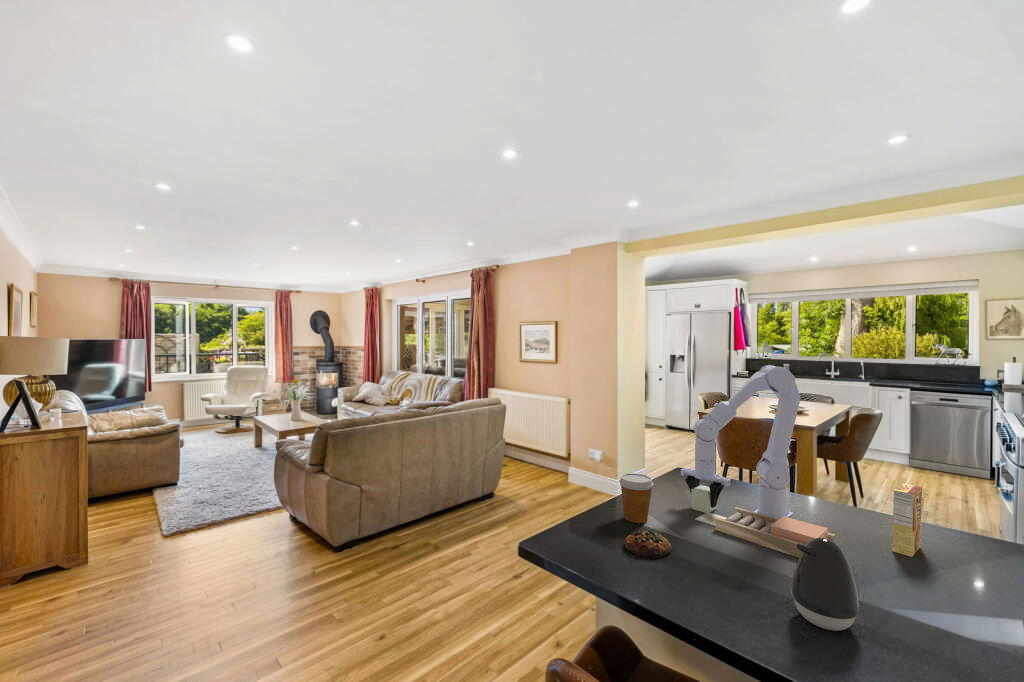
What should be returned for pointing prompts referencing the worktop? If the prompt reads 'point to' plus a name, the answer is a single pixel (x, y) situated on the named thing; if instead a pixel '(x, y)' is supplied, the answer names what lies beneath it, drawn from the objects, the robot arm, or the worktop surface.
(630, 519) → the disposable coffee cup
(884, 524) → the worktop surface
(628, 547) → the bread roll
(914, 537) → the candy box
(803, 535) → the slab
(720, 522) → the roller bed
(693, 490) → the block
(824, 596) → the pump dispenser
